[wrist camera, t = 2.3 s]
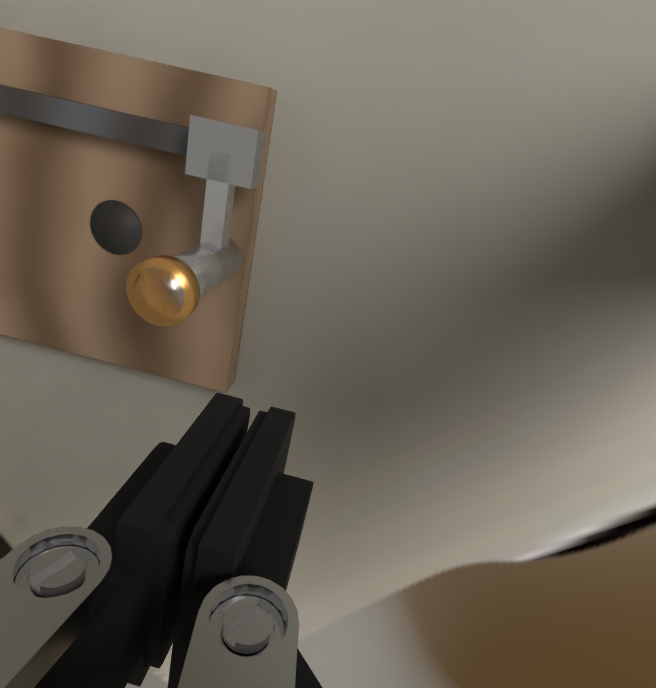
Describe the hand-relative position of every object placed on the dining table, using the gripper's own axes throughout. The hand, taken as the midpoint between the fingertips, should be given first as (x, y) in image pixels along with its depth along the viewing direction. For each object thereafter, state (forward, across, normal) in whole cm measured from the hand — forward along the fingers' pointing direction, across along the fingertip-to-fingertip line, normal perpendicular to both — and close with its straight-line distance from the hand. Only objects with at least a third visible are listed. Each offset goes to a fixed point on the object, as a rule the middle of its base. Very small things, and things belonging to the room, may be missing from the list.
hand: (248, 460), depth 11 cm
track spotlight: (+15, +6, -2) cm, 16 cm away
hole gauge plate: (+17, +16, 0) cm, 23 cm away
